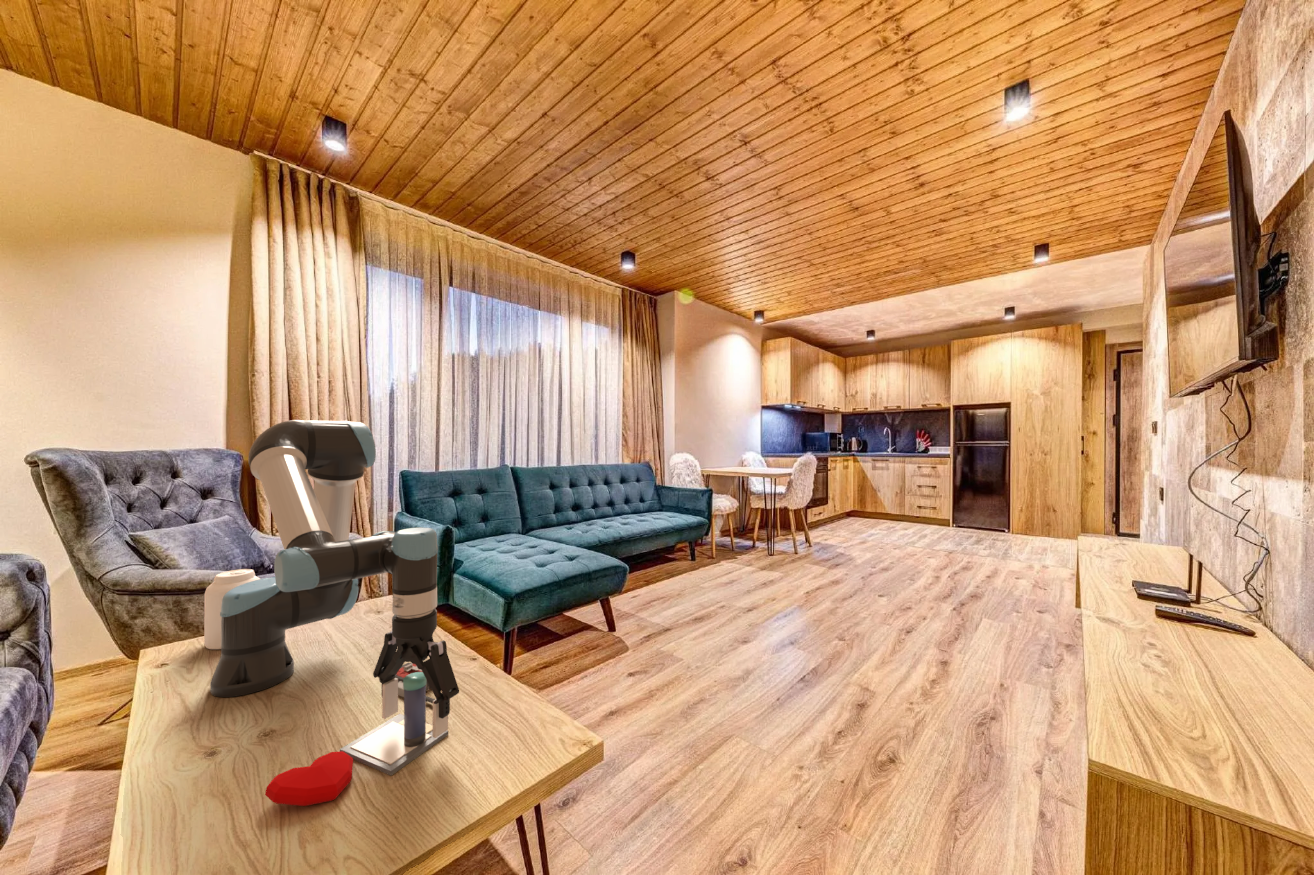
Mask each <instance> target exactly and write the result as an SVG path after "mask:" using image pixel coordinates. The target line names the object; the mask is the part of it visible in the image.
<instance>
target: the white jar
mask: <svg viewBox="0 0 1314 875" xmlns="http://www.w3.org/2000/svg"><path fill="white" fill-rule="evenodd" d="M259 579H261V578H260V577H258V576H256V573H255V570H254V569H251V568H241V569H240V568H239V569H233V570H227V571H222V572H220V573H218V574H216V575H215V576H214V578H213V582H212V583H211V584H209V585H208V586H207V587H206V589H205V591H204V612H203V613H204V616H203V617H204V619H203V620H204V622H203V623H204V624H203V625H204V626H203V627H204V628H203V629H204V630H203V631H204V632H203V633H204V634H203V635H204V636H203V640H204V641H203V642H204V643H203V644H204V646H205V648H206V649H209V650H221V616H220V612H221V606H222V599H223V597H224V595H225V594H226V593H227V592H228V591H230V590H231V589H233V588H235V587H237V586H240V585H242V584H245V583H248V582H251V581H255V580H259Z"/></svg>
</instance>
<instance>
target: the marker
mask: <svg viewBox="0 0 1314 875" xmlns="http://www.w3.org/2000/svg"><path fill="white" fill-rule="evenodd" d="M426 683H427V680H426V678H425V676H424V674H423V672H415V673H412V674H409V675H407V676H406V677H404V679H403V689H404V697H403V715H404V745H405V746H406V747H415V746H418V745H420V744H422V743H423V742H424V741H425V739H426V723H427V722H426V721H427V720H426V715H427V714H426V713H427V708H426V707H427V706H426V705H427V704H426V703H427V702H426V696H427V694H426V692H427V691H426Z"/></svg>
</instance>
